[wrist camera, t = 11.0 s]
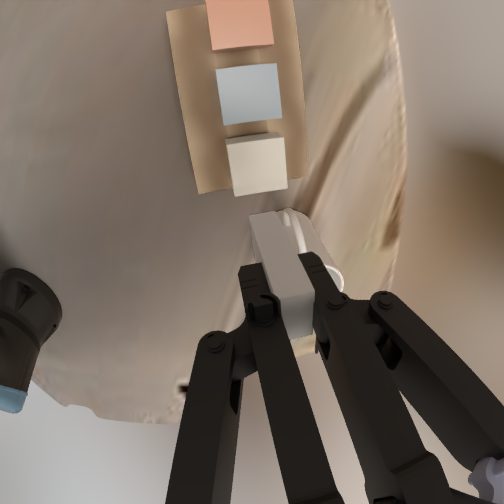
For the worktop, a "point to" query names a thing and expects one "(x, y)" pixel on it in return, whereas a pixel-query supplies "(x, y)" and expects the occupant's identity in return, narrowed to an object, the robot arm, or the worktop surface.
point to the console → (207, 100)
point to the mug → (308, 240)
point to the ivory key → (257, 163)
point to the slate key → (248, 93)
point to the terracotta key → (239, 24)
